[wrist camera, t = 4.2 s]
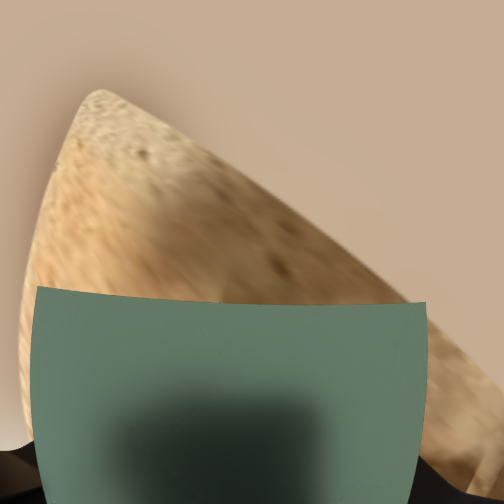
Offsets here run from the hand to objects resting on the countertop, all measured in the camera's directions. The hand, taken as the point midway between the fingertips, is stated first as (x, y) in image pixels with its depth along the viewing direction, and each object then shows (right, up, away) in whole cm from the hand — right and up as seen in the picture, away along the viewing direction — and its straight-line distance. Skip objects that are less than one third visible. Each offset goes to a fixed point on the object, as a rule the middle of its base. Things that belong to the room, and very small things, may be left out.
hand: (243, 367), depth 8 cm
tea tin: (0, -4, +6) cm, 7 cm away
